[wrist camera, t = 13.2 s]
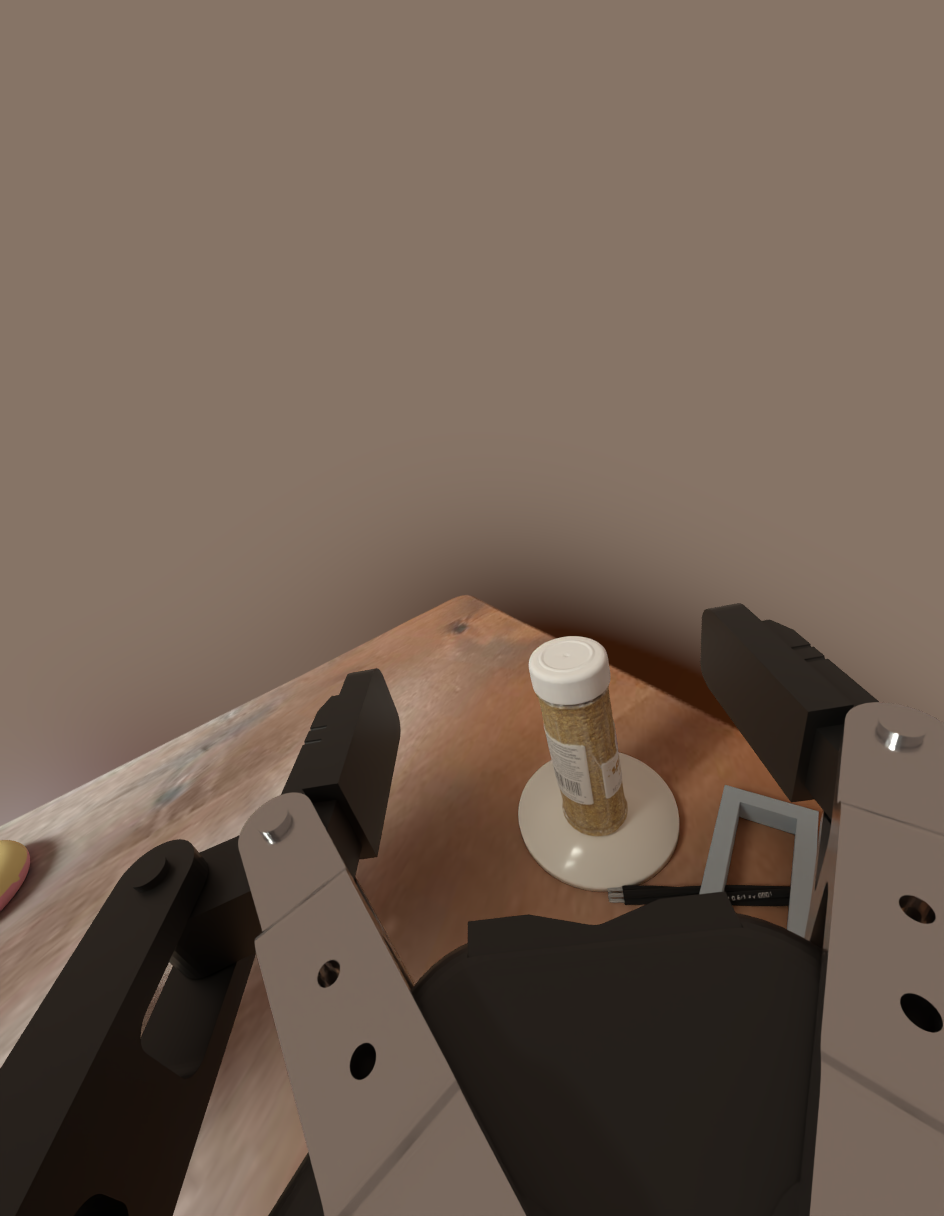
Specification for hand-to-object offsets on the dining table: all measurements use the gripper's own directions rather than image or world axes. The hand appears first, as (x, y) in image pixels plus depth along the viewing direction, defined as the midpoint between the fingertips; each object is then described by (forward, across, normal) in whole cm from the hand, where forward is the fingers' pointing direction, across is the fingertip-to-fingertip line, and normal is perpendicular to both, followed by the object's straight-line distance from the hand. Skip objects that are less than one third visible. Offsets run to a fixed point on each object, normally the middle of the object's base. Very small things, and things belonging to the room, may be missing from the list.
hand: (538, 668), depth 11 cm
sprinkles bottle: (+12, -2, +22) cm, 25 cm away
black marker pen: (+5, -8, +23) cm, 25 cm away
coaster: (+12, -2, +23) cm, 26 cm away
